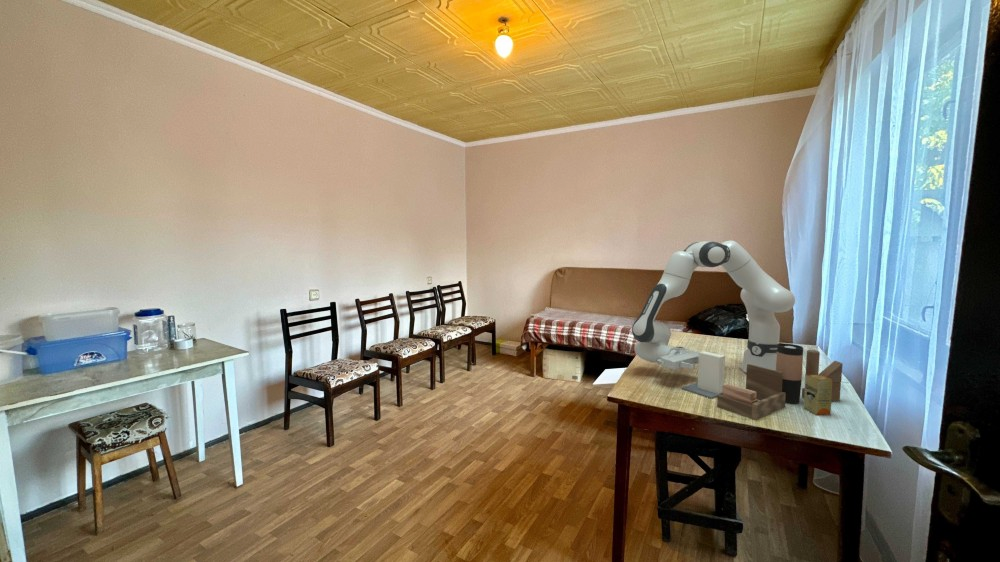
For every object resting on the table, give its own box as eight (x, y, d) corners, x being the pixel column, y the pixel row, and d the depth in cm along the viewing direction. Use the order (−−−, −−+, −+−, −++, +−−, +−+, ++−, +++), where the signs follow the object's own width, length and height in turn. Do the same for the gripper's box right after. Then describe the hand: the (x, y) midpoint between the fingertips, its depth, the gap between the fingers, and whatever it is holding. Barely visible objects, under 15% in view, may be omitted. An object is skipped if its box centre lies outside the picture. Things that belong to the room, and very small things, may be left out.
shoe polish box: (815, 415, 128) (818, 379, 127) (803, 409, 133) (805, 374, 132) (830, 415, 128) (832, 379, 127) (817, 408, 133) (819, 374, 132)
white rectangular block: (702, 385, 154) (704, 351, 153) (723, 392, 147) (724, 356, 146) (697, 387, 152) (699, 352, 151) (718, 394, 145) (719, 357, 144)
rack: (747, 395, 146) (748, 364, 145) (784, 406, 135) (786, 373, 134) (717, 406, 136) (718, 373, 134) (755, 420, 125) (757, 383, 124)
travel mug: (769, 396, 145) (772, 343, 143) (790, 396, 145) (793, 343, 143) (783, 404, 137) (786, 348, 135) (805, 404, 137) (809, 348, 135)
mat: (702, 382, 160) (702, 380, 160) (732, 391, 150) (732, 390, 149) (681, 388, 153) (681, 387, 153) (711, 398, 142) (711, 397, 142)
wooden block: (840, 402, 139) (843, 352, 138) (808, 401, 140) (811, 352, 138) (832, 398, 143) (835, 350, 141) (801, 397, 144) (804, 349, 142)
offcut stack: (727, 404, 138) (728, 383, 137) (757, 414, 129) (758, 392, 129) (720, 406, 136) (721, 385, 135) (751, 417, 127) (752, 394, 127)
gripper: (653, 352, 159) (685, 361, 147) (684, 346, 169) (715, 353, 157) (653, 367, 159) (684, 377, 147) (683, 360, 170) (715, 368, 158)
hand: (700, 365), depth 152 cm, fingers open, 8 cm apart
